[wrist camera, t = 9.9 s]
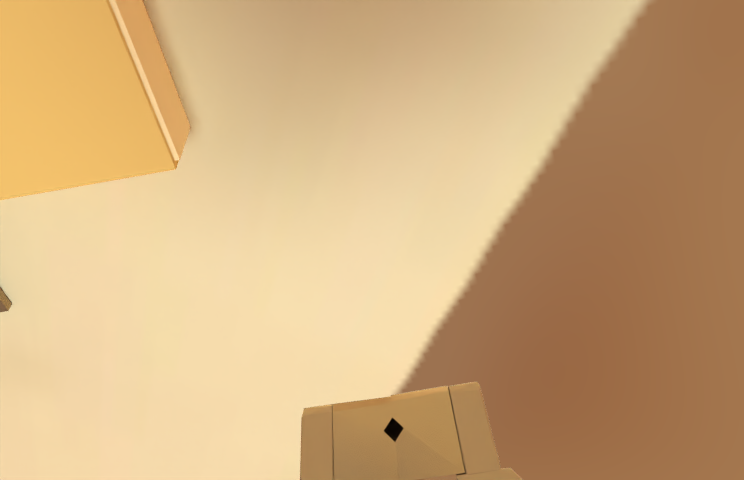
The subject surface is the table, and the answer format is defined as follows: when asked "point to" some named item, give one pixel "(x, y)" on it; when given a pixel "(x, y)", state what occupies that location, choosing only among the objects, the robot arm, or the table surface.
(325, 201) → the table surface
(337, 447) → the robot arm
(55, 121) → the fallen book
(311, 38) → the table surface
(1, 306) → the bookend
